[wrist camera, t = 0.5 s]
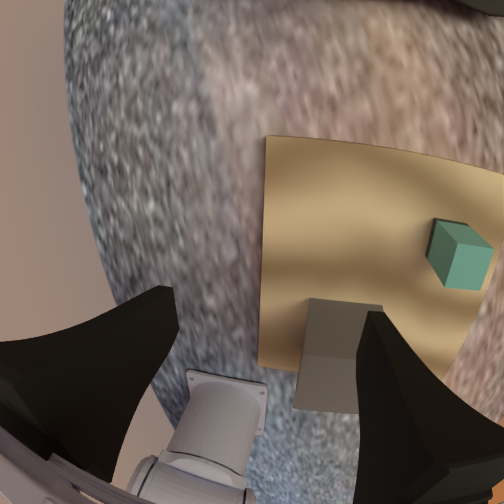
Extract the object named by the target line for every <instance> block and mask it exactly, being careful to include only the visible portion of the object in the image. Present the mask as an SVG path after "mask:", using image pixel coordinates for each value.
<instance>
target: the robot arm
mask: <svg viewBox="0 0 504 504" xmlns="http://www.w3.org/2000/svg"><path fill="white" fill-rule="evenodd" d="M178 331H179V324H178V318H177V312H176V305H175V299H174V292H173V287H167V286H161V285H158V286H156V287H154V288H152V289H150V290H148V291H146V292H144V293H142V294H140V295H138V296H136V297H134V298H132V299H131V300H129V301H127V302H125V303H123V304H121V305H119V306H118V307H116V308H114V309H112V310H109V311H108V312H106V313H103V314H101V315H99V316H97V317H96V318H93V319H91V320H89V321H86V322H84V323H81V324H79V325H76V326H73V327H71V328H68V329H64V330H61V331H58V332H54V333H51V334H47V335H43V336H39V337H34V338H28V339H23V340H14V341H5V342H0V493H1V494H2V495H3V496H4V497H5V499H6V500H7V501H9V503H10V504H97V503H95V502H93V501H92V500H90V499H88V498H87V497H85V496H84V495H82V494H81V493H80V491H82V492H84V493H85V494H87V495H89V496H91V497H92V498H95V499H96V500H98V501H100V502H102V503H104V504H256V497H255V495H254V493H253V491H252V489H250V488H245V487H246V483H247V480H248V479H247V478H245V477H244V474H245V471H246V467H247V463H248V460H249V456H250V452H251V449H252V445H253V441H254V438H255V435H263V433H264V424H265V414H266V404H267V394H268V387H267V386H266V385H265V384H260V383H254V382H248V381H242V380H237V379H232V378H226V377H221V376H217V375H212V374H207V373H203V372H198V371H194V370H188V371H187V372H186V377H187V382H188V387H189V392H190V397H191V398H190V400H189V402H188V405H187V407H186V409H185V411H184V413H183V415H182V417H181V420H180V422H179V424H178V426H177V428H176V430H175V432H174V435H173V437H172V439H171V441H170V443H169V445H168V447H167V449H166V450H162V451H161V454H160V456H159V458H158V457H156V456H154V455H151V456H149V457H146V458H144V459H142V460H141V461H140V463H139V464H138V466H137V467H136V469H135V471H134V473H133V475H132V477H131V479H130V481H129V483H128V486H127V488H126V491H124V490H122V489H119V488H117V487H115V486H113V485H111V484H109V483H111V482H112V478H113V474H114V470H115V467H116V463H117V459H118V456H119V453H120V450H121V447H122V444H123V441H124V438H125V435H126V433H127V430H128V428H129V425H130V422H131V420H132V418H133V415H134V413H135V411H136V409H137V406H138V404H139V402H140V400H141V398H142V396H143V394H144V392H145V391H146V389H147V387H148V386H149V384H150V383H151V381H152V379H153V378H154V376H155V374H156V373H157V371H158V370H159V368H160V366H161V365H162V363H163V361H164V360H165V358H166V357H167V355H168V353H169V351H170V350H171V347H172V345H173V343H174V341H175V338H176V336H177V333H178ZM356 386H357V396H358V408H359V420H360V448H359V461H358V470H357V479H356V486H355V492H354V498H353V504H488V500H490V499H491V498H492V497H493V494H492V487H494V486H495V485H496V484H498V483H499V482H500V481H502V480H503V479H504V427H502V426H500V425H498V424H496V423H495V422H493V421H491V420H489V419H488V418H486V417H485V416H483V415H482V414H480V413H479V412H477V411H476V410H475V409H473V408H472V407H471V406H469V405H468V404H467V403H465V402H464V401H463V400H462V399H460V398H459V397H458V396H457V395H456V394H454V393H453V392H452V391H451V390H450V389H449V388H448V387H447V386H446V385H444V384H443V383H442V382H441V381H440V380H439V379H438V378H437V377H436V376H435V375H434V374H433V373H432V371H431V370H430V369H429V368H428V367H427V366H426V365H425V364H424V362H423V361H422V360H421V359H420V358H419V357H418V356H417V354H416V353H415V352H414V351H413V349H412V348H411V347H410V346H409V344H408V343H407V342H406V340H405V339H404V338H403V336H402V335H401V334H400V332H399V331H398V330H397V328H396V327H395V326H394V324H393V323H392V321H391V320H390V319H389V317H388V316H387V315H386V313H385V312H380V311H368V313H367V316H366V320H365V324H364V328H363V331H362V335H361V338H360V342H359V345H358V349H357V352H356ZM79 490H80V491H79ZM499 504H504V501H503V502H501V503H499Z"/></svg>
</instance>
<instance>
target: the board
mask: <svg viewBox="0 0 504 504" xmlns="http://www.w3.org/2000/svg"><path fill="white" fill-rule="evenodd" d="M434 218H440V219H446V220H452V221H458V222H463V223H467V224H468V225H469V226H470V227H472V228H473V229H474V230H475V231H476V232H477V233H478V234H479V235H480V236H481V237H482V238H483V239H484V240H486V241H487V242H488V243H489V244H490V245H491V246H492V247H493V248H494V252H493V255H492V258H491V261H490V264H489V267H488V270H487V273H486V276H485V279H484V282H483V284H482V287H481V290H480V291H477V290H466V289H455V288H444V286H443V285H442V283H441V281H440V279H439V278H438V276H437V274H436V273H435V271H434V269H433V268H432V266H431V264H430V263H429V261H428V260H427V258H426V256H425V253H426V249H427V245H428V241H429V236H430V232H431V228H432V223H433V219H434ZM503 241H504V174H502V173H498V172H495V171H492V170H488V169H484V168H481V167H477V166H473V165H469V164H466V163H462V162H457V161H453V160H449V159H445V158H440V157H436V156H431V155H426V154H421V153H416V152H411V151H405V150H400V149H394V148H388V147H381V146H375V145H368V144H361V143H353V142H345V141H336V140H327V139H317V138H305V137H292V136H275V135H267V136H266V158H265V190H264V219H263V247H262V273H261V298H260V321H259V343H258V365H257V366H260V367H267V368H273V369H280V370H288V371H295V372H298V371H299V363H300V356H301V349H302V343H303V337H304V331H305V325H306V319H307V312H308V305H309V298H318V299H327V300H336V301H346V302H356V303H366V304H376V305H382V306H383V310H384V312H385V313H386V315H387V316H388V317H389V319H390V320H391V321H392V323H393V324H394V326H395V327H396V328H397V330H398V331H399V332H400V334H401V335H402V336H403V338H404V339H405V340H406V342H407V343H408V344H409V346H410V347H411V348H412V349H413V351H414V352H415V353H416V354H417V356H418V357H419V358H420V359H421V360H422V361H423V362H424V364H425V365H426V366H427V367H428V368H429V369H430V370H431V371H432V373H433V374H434V375H435V376H436V377H437V378H438V379H439V380H443V379H444V377H445V375H446V374H447V372H448V370H449V368H450V367H451V365H452V363H453V361H454V359H455V358H456V356H457V354H458V352H459V350H460V348H461V346H462V344H463V342H464V340H465V338H466V336H467V334H468V332H469V330H470V328H471V326H472V324H473V321H474V319H475V317H476V315H477V312H478V310H479V308H480V305H481V303H482V301H483V298H484V296H485V293H486V291H487V288H488V285H489V283H490V280H491V277H492V275H493V272H494V269H495V266H496V263H497V260H498V257H499V254H500V251H501V247H502V244H503Z"/></svg>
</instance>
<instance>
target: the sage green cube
mask: <svg viewBox="0 0 504 504" xmlns="http://www.w3.org/2000/svg"><path fill="white" fill-rule="evenodd" d="M493 252H494V248H493V247H492V246H491V245H490V244H489V243H488V242H487V241H486V240H484V239H483V238H482V237H481V236H480V235H479V234H478V233H477V232H476V231H475V230H474V229H473V228H472V227H470V226H469V225H468V224H467V223H463V222H458V221H452V220H446V219H440V218H434V219H433V223H432V228H431V232H430V236H429V241H428V245H427V249H426V253H425V256H426V258H427V260H428V261H429V263H430V264H431V266H432V268H433V269H434V271H435V273H436V274H437V276H438V278H439V279H440V281H441V283H442V285H443V286H444V288H455V289H466V290H477V291H480V290H481V287H482V284H483V282H484V279H485V276H486V273H487V270H488V267H489V264H490V261H491V258H492V255H493Z"/></svg>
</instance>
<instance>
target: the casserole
mask: <svg viewBox="0 0 504 504" xmlns="http://www.w3.org/2000/svg"><path fill="white" fill-rule="evenodd" d="M452 1H454V2H457V3H459V4H462V5H464V6H466V7H469V8H471V9H474V10H476V11H479V12H481V13H484V14H486V15H488V16H500V17H504V0H452Z"/></svg>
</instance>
